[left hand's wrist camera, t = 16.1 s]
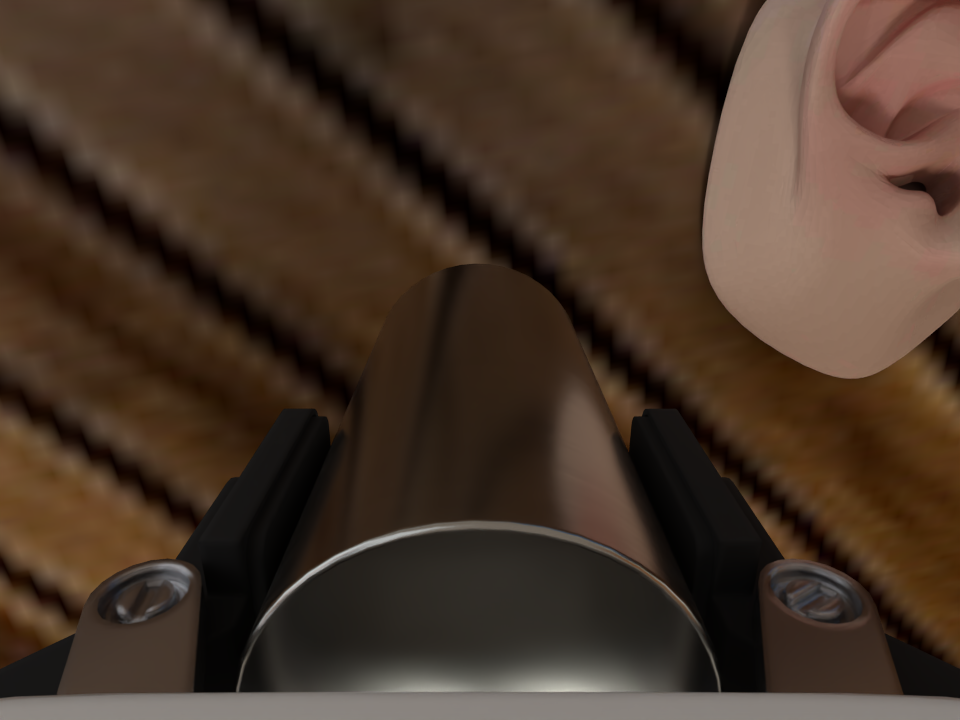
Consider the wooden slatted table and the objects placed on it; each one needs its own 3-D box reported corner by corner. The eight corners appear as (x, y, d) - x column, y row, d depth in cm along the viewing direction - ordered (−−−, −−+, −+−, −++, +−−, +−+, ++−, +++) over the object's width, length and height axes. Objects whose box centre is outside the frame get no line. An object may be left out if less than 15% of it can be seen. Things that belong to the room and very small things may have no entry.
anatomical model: (995, 447, 22) (666, 367, 20) (919, 396, 25) (638, 326, 24) (1272, 7, 17) (861, -128, 16) (1129, 22, 20) (788, -86, 19)
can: (597, 422, 18) (758, 841, 8) (414, 470, 19) (335, 922, 8) (550, 237, 16) (680, 462, 6) (347, 296, 17) (140, 599, 7)
